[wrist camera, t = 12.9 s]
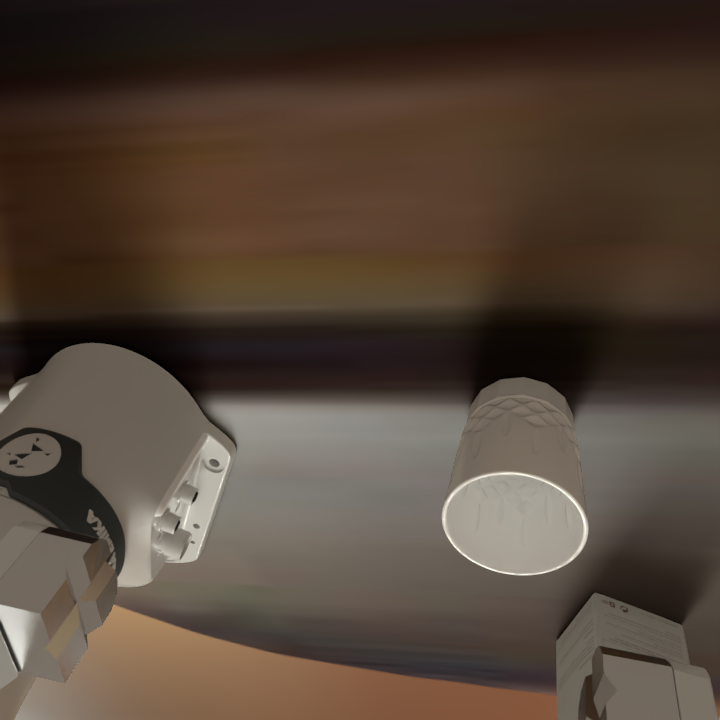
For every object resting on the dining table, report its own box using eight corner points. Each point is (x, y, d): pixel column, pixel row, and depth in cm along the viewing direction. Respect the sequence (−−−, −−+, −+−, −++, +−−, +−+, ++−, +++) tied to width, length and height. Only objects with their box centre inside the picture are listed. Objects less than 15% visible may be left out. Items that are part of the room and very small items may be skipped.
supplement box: (638, 672, 57) (656, 840, 47) (553, 639, 57) (553, 799, 47) (686, 623, 53) (718, 796, 43) (594, 588, 53) (604, 751, 43)
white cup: (462, 363, 45) (442, 463, 37) (589, 373, 43) (597, 481, 35) (459, 456, 49) (440, 564, 41) (574, 469, 47) (579, 585, 39)
